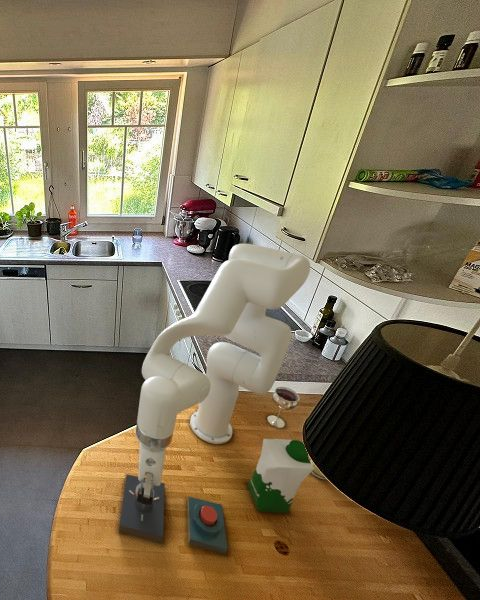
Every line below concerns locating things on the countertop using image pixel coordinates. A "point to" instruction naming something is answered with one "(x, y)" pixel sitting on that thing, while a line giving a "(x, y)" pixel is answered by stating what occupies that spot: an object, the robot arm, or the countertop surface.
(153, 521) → the plate
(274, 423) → the wineglass
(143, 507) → the rotary knob
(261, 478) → the milk carton
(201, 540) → the teal button housing
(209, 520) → the button
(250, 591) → the countertop surface
